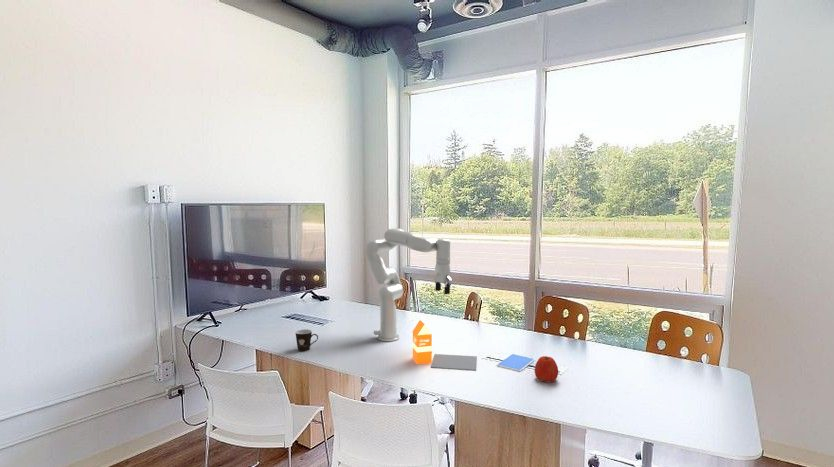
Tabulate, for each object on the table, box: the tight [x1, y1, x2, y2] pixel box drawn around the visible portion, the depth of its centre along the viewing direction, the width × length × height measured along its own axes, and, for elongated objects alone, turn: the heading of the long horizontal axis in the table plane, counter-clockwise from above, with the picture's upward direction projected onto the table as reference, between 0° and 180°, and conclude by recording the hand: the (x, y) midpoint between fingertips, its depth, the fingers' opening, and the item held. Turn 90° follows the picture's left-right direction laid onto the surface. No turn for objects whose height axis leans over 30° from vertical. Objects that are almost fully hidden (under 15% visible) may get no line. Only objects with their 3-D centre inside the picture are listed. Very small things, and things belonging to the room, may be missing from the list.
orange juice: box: [412, 319, 433, 365], centre depth 207 cm, size 8×9×20 cm
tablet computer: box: [496, 353, 535, 373], centre depth 205 cm, size 19×13×1 cm, turn 143°
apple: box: [534, 355, 559, 383], centre depth 185 cm, size 10×10×10 cm
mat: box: [430, 353, 478, 372], centre depth 205 cm, size 22×18×1 cm
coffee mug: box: [295, 328, 319, 353], centre depth 223 cm, size 12×9×10 cm
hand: (442, 292), depth 225 cm, fingers open, 9 cm apart
